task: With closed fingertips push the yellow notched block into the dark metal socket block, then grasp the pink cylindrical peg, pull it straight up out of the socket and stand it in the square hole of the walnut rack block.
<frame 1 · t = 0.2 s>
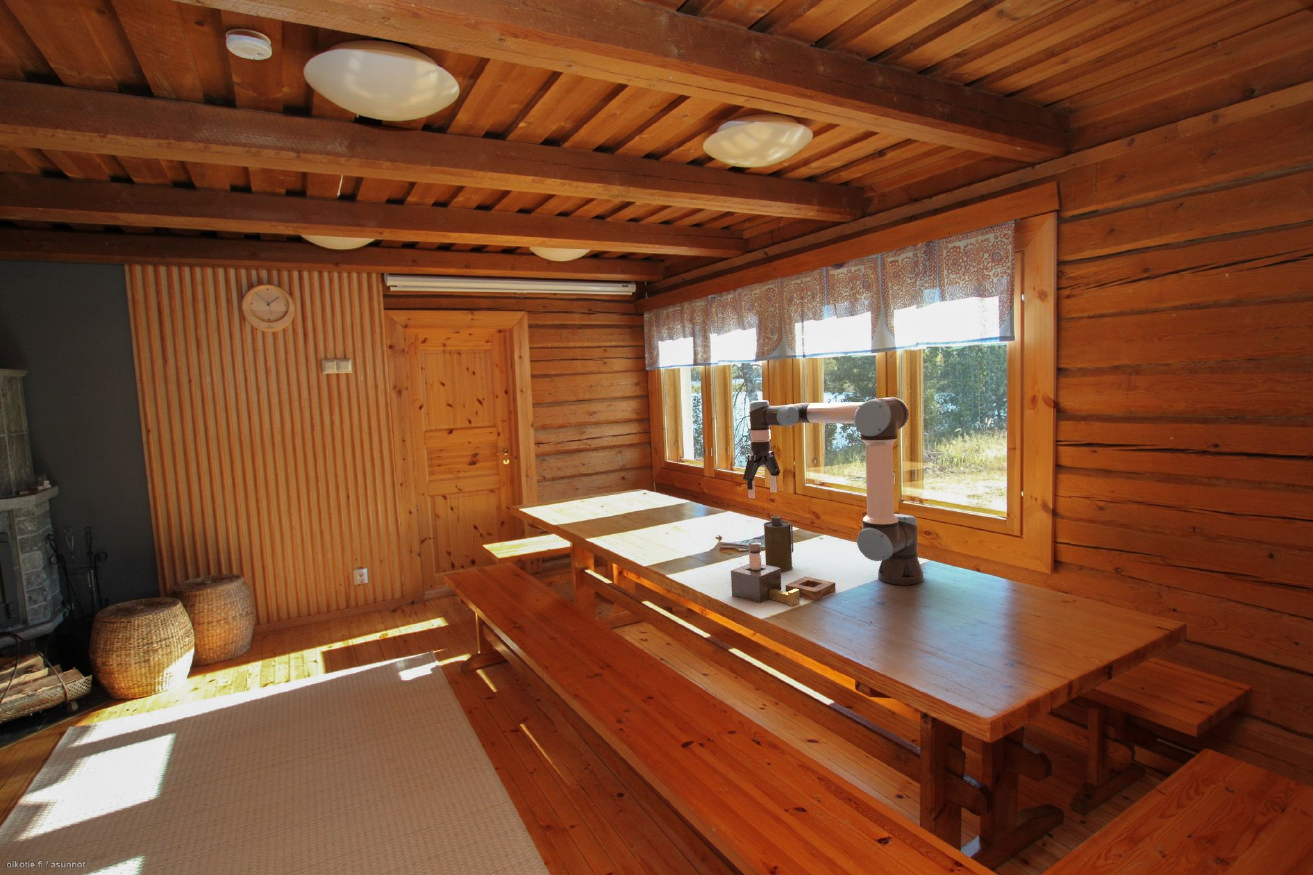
hand: (762, 495, 264), 28 cm above the table, fingers open, 13 cm apart
rack: (810, 592, 232), on the table
pink cylindrical peg: (756, 583, 232), point 4 cm above the table, touching socket block
socket block: (756, 594, 232), on the table
yellow notched block: (780, 594, 225), point 2 cm above the table, slide at 0.0 cm
canister: (779, 568, 262), on the table
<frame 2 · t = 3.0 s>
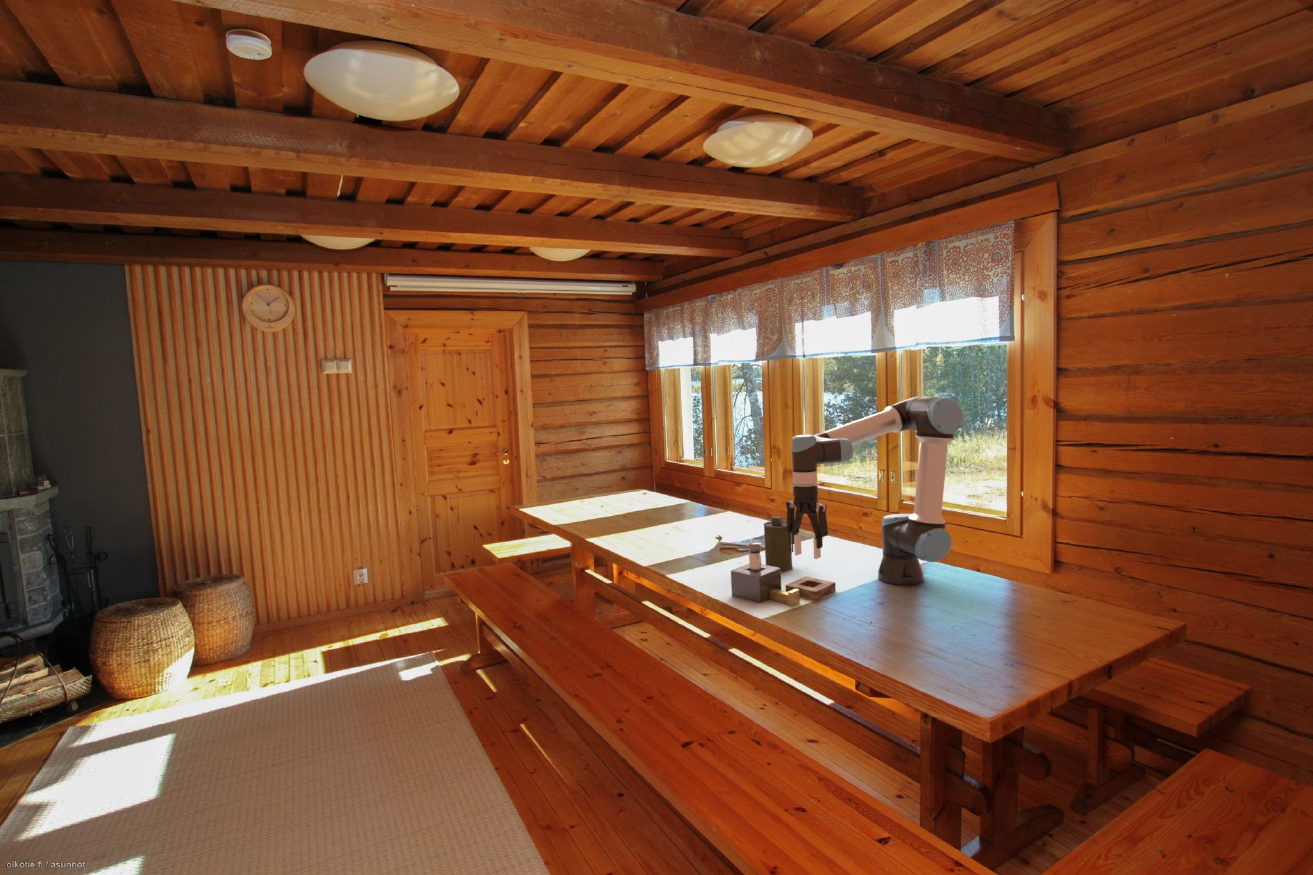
hand: (807, 555, 216), 17 cm above the table, fingers open, 6 cm apart
nothing on the table moved.
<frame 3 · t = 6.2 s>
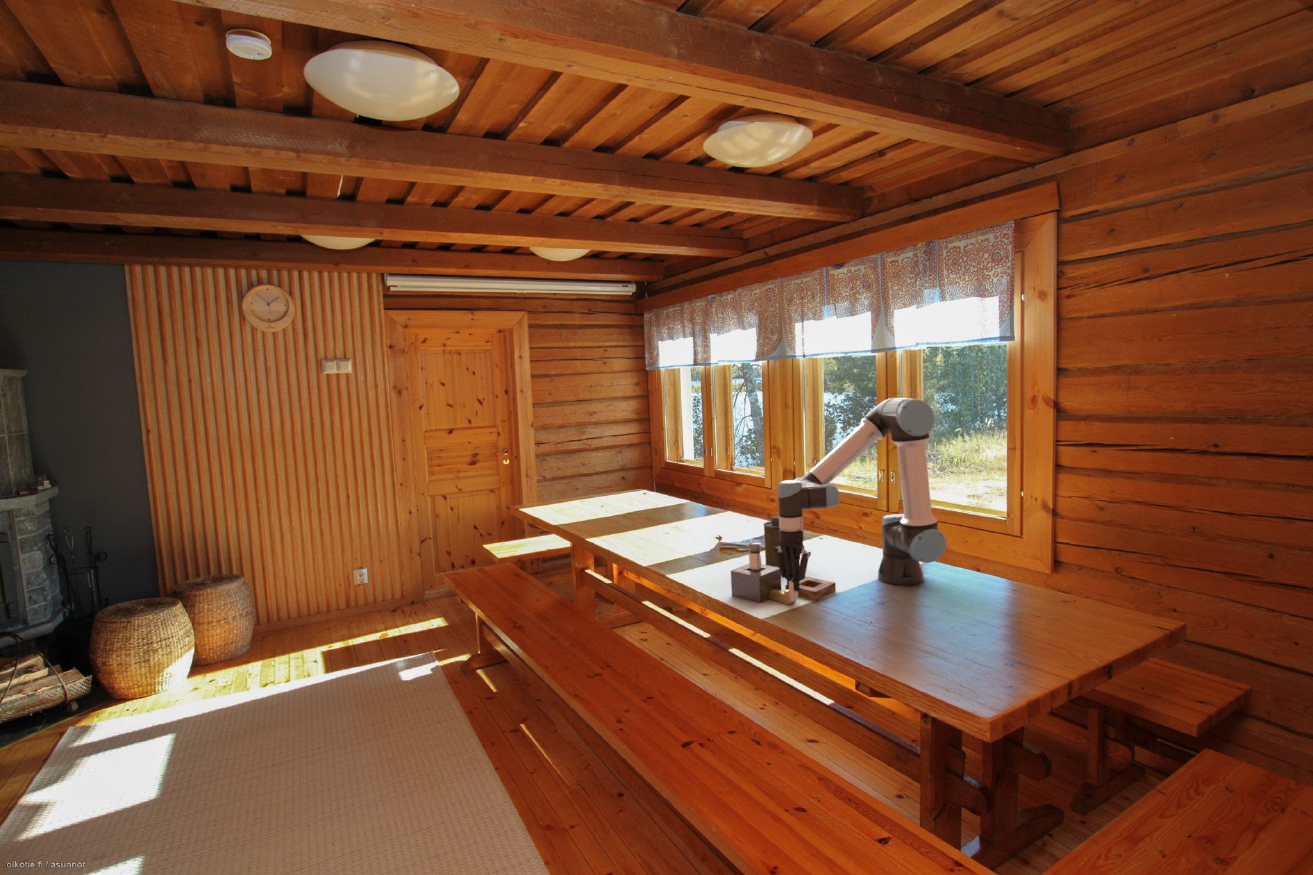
hand: (793, 599, 221), 1 cm above the table, fingers closed
yellow notched block: (776, 593, 226), point 2 cm above the table, slide at 1.6 cm, touching gripper
everything else where it was.
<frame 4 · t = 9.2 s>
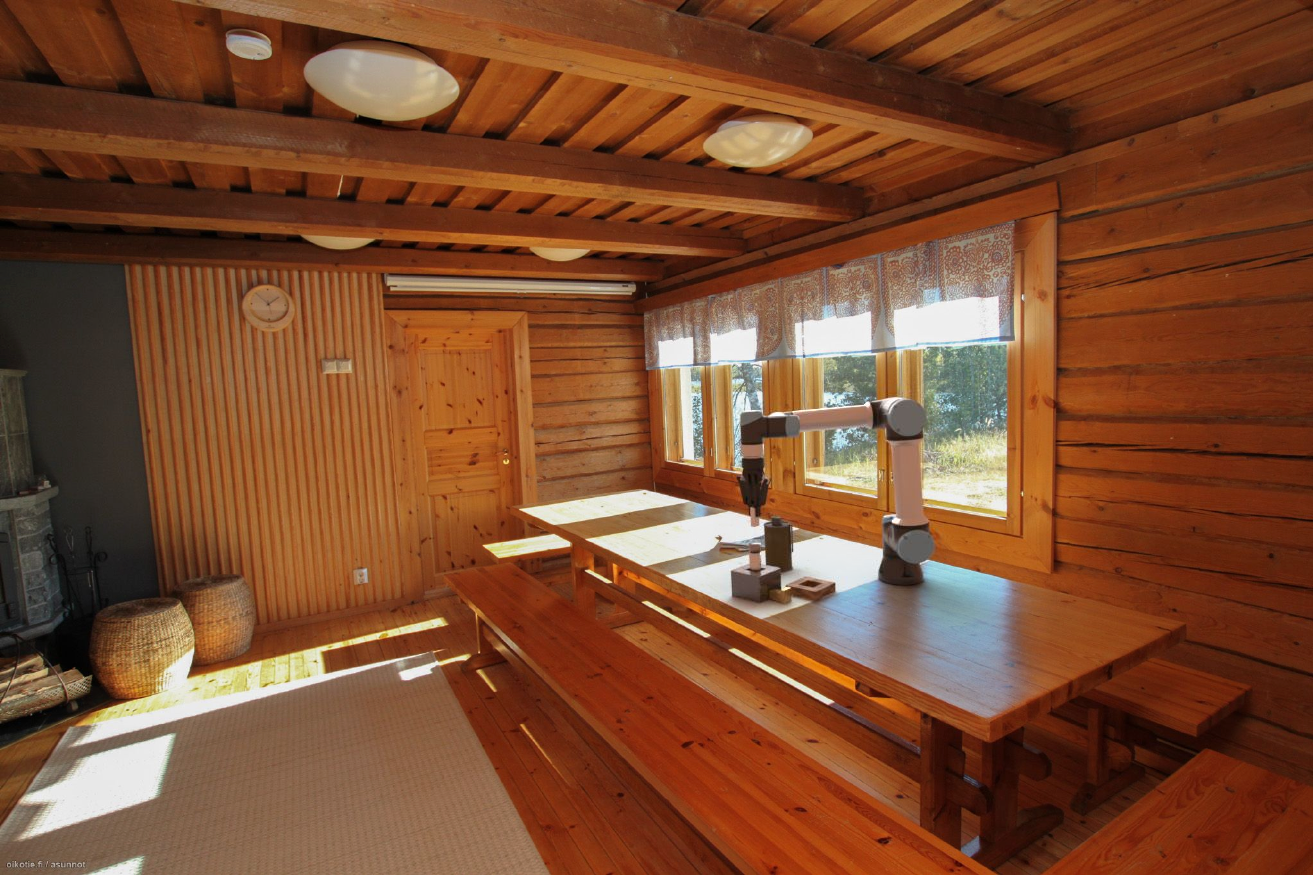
hand: (755, 525, 229), 24 cm above the table, fingers closed
yellow notched block: (772, 592, 227), point 2 cm above the table, slide at 3.2 cm
everything else where it was.
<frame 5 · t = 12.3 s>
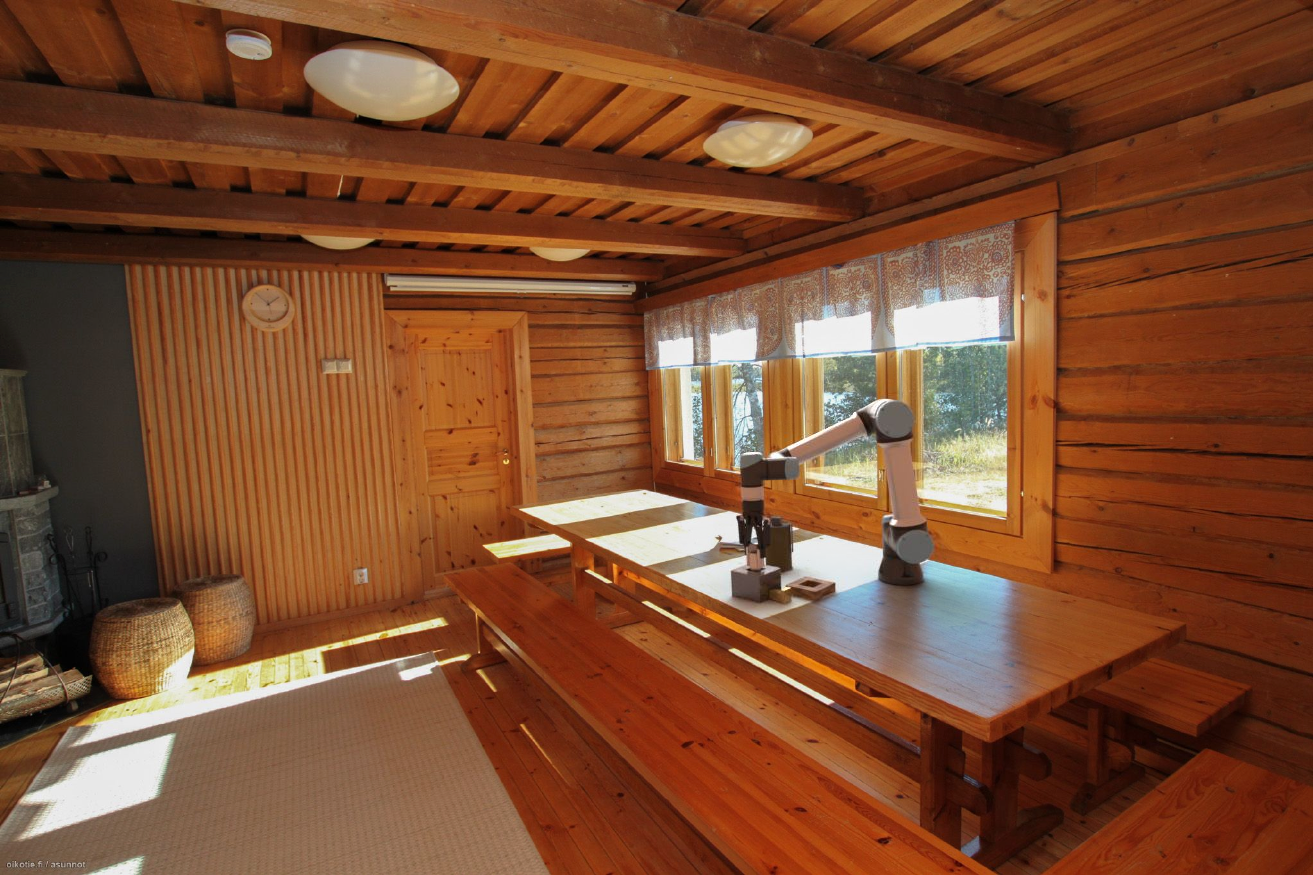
hand: (755, 566, 231), 10 cm above the table, fingers closed on pink cylindrical peg, 4 cm apart
pink cylindrical peg: (756, 583, 232), point 4 cm above the table, touching gripper, socket block
everything else where it was.
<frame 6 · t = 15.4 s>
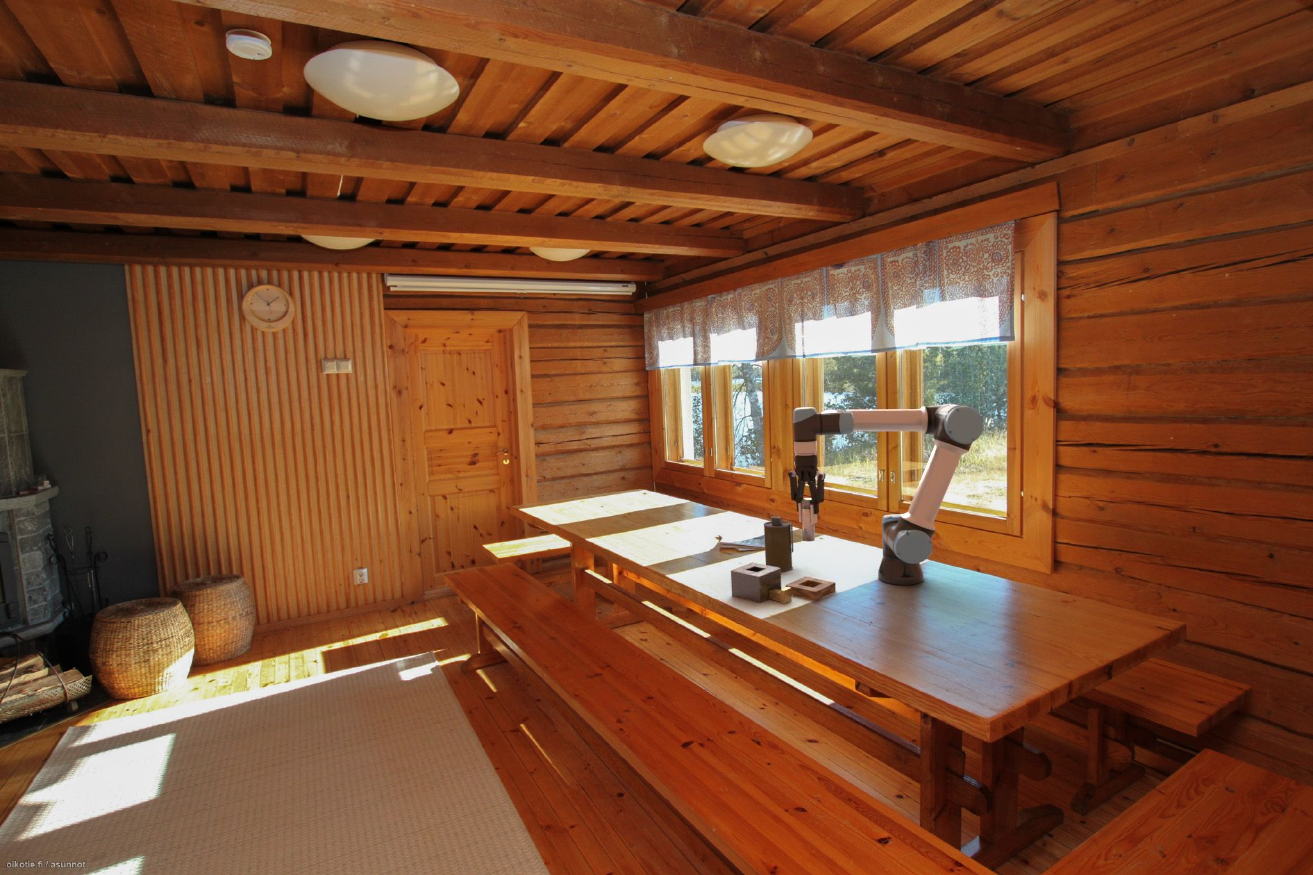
hand: (808, 522, 230), 24 cm above the table, fingers closed on pink cylindrical peg, 4 cm apart
pink cylindrical peg: (808, 539, 230), point 18 cm above the table, touching gripper
everything else where it was.
when the fingers open (8 cm above the table, at t = 18.6 s): pink cylindrical peg drops 1 cm, resting on rack.
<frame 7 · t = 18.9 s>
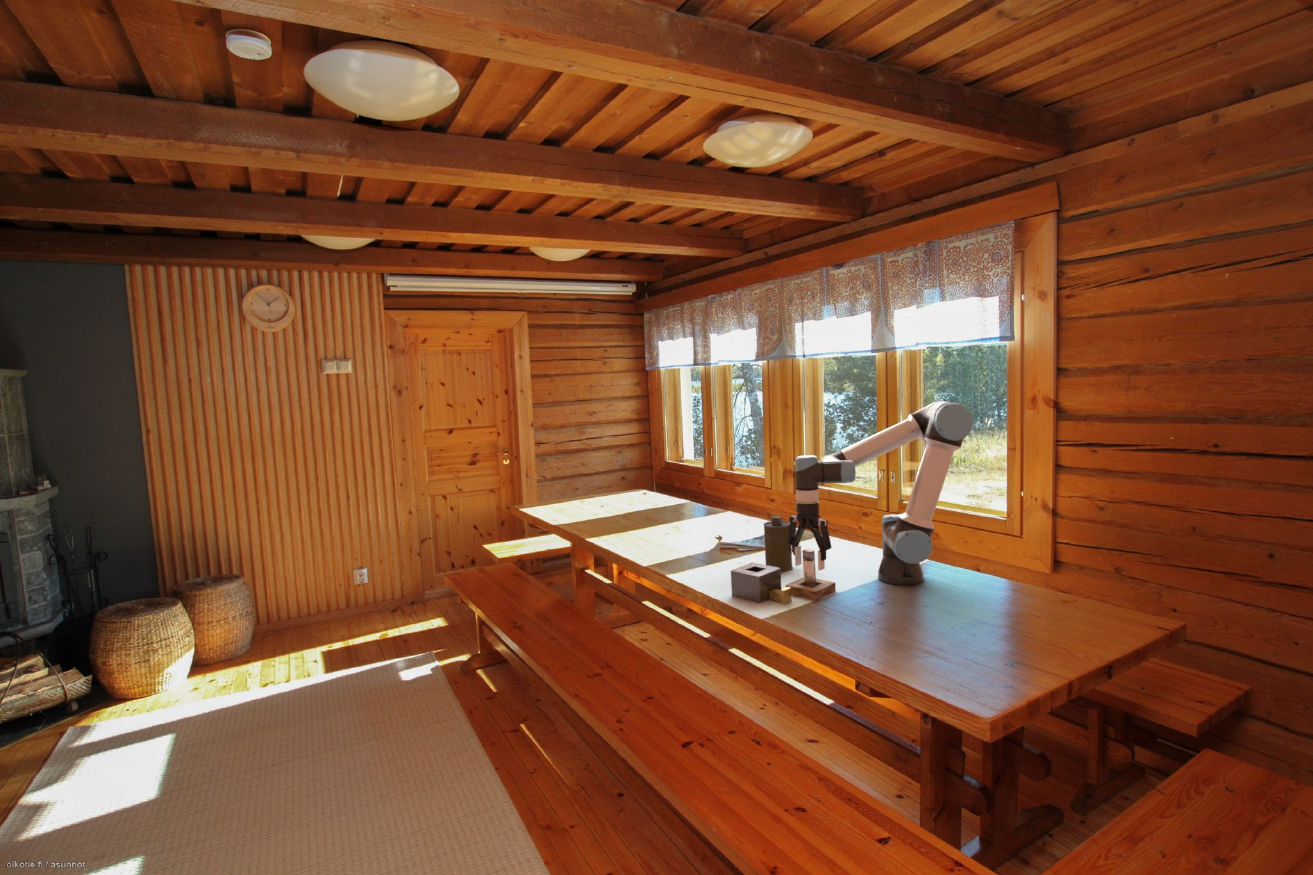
hand: (809, 567, 231), 9 cm above the table, fingers open, 8 cm apart
pink cylindrical peg: (810, 590, 232), point 1 cm above the table, touching rack
everything else where it was.
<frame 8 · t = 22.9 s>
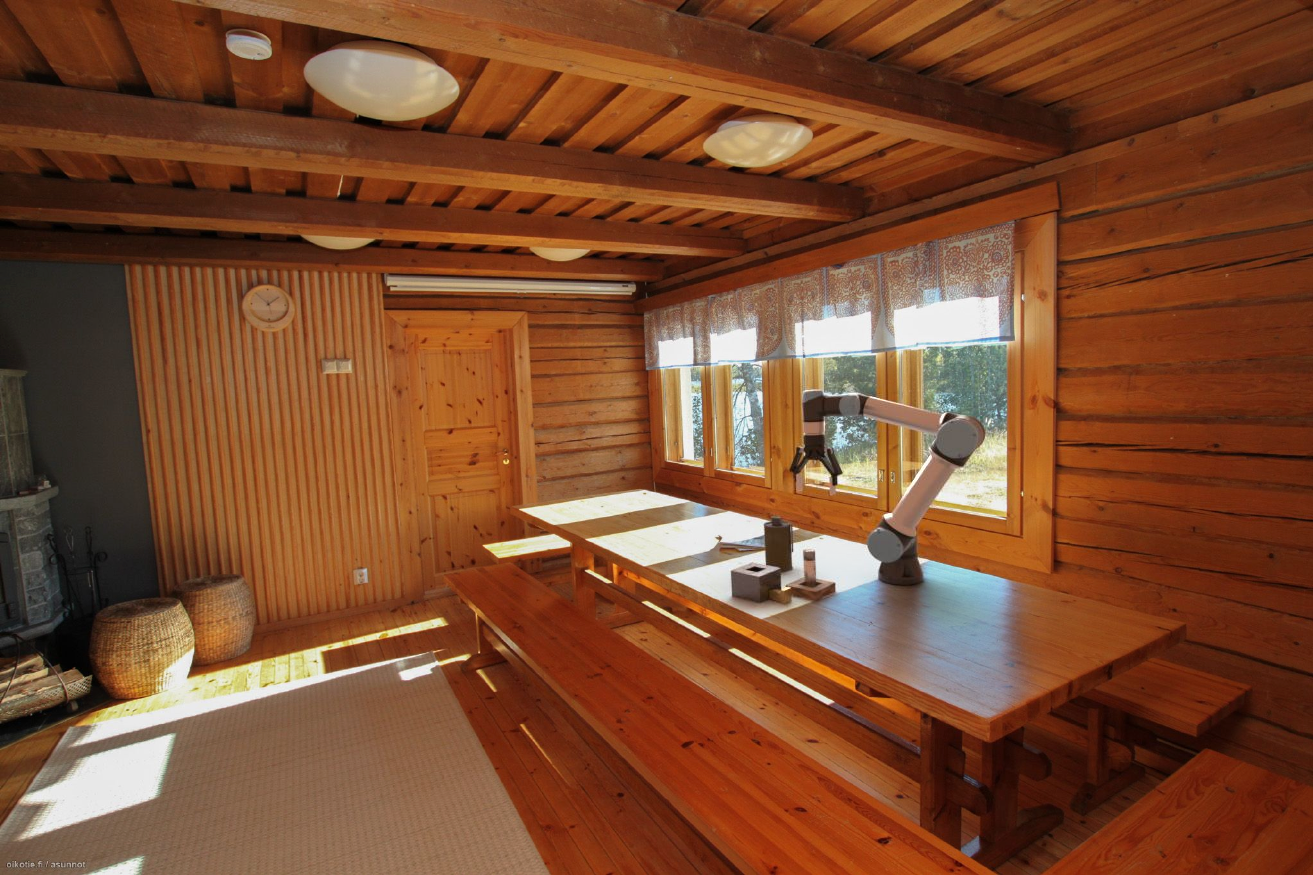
hand: (816, 493, 242), 32 cm above the table, fingers open, 13 cm apart
nothing on the table moved.
at the end: pink cylindrical peg 0.0 cm off-centre on the rack, point 0.5 cm above the rack's base; pink cylindrical peg tilted 1°; yellow notched block slide at 3.2 cm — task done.
